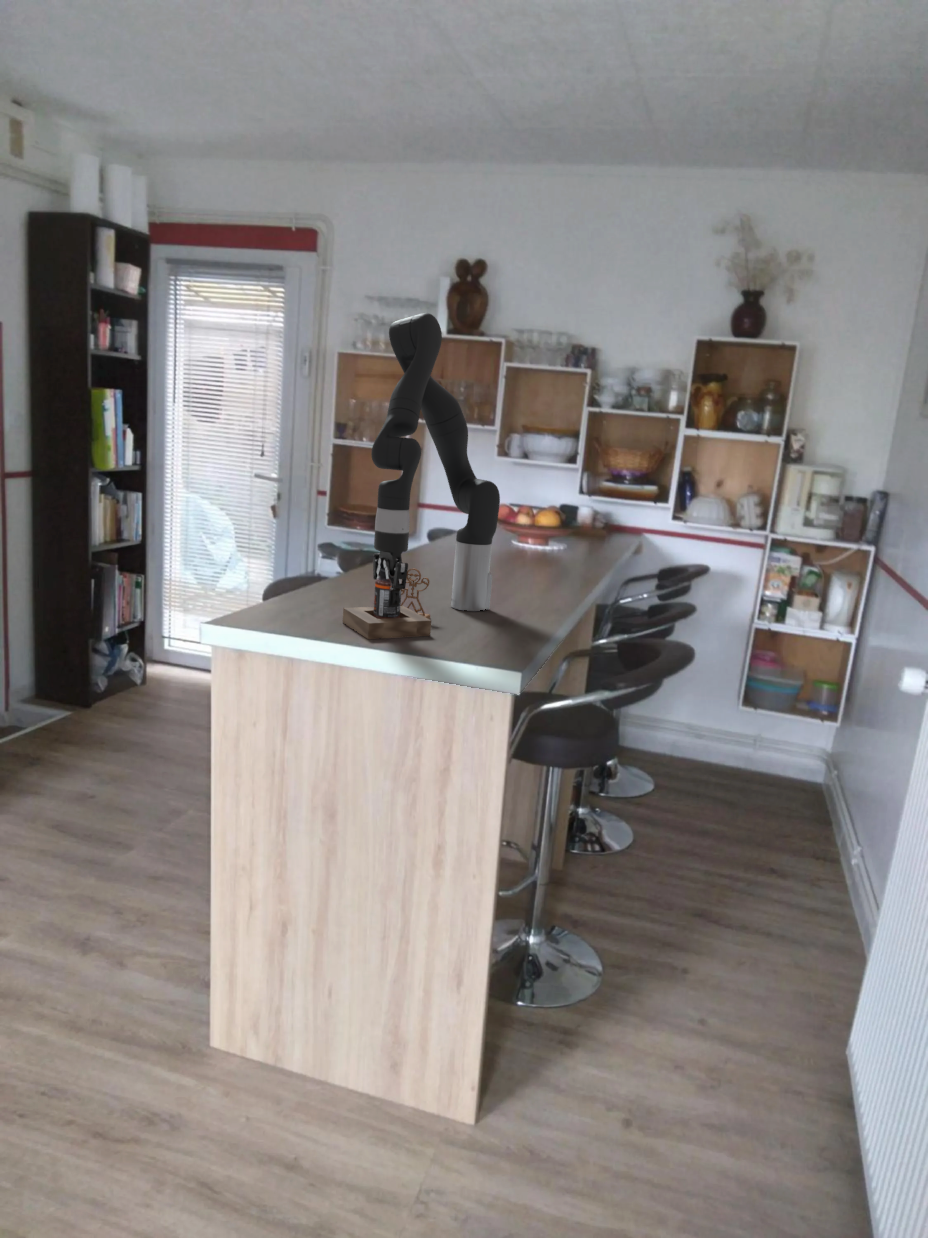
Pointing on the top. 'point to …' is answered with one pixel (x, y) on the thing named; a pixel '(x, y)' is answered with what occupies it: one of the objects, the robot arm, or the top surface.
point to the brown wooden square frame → (386, 623)
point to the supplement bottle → (384, 599)
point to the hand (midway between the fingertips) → (387, 603)
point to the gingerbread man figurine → (417, 591)
